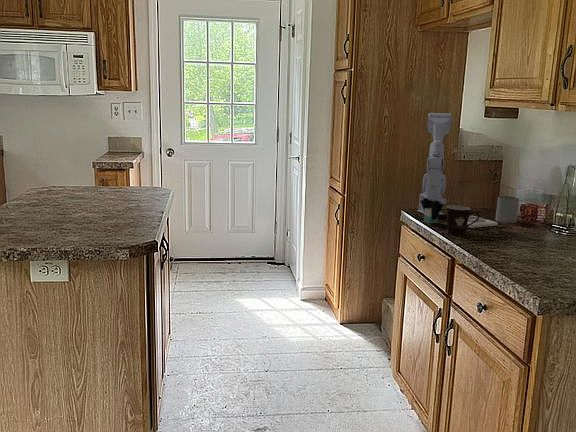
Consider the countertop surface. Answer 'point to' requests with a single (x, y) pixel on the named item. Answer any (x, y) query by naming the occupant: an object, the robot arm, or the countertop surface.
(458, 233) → the coffee mug
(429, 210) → the block
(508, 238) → the countertop surface
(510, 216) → the cup
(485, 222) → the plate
